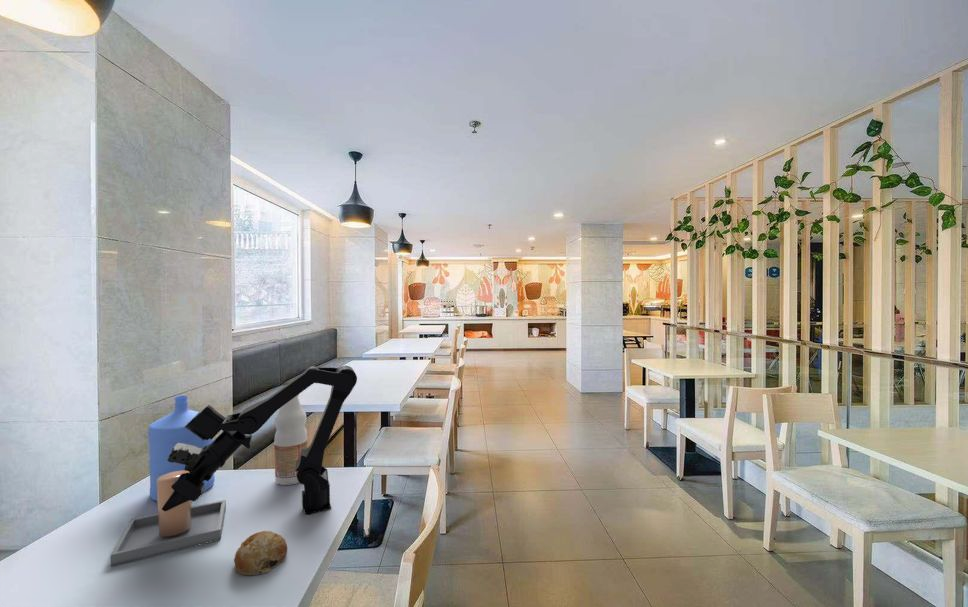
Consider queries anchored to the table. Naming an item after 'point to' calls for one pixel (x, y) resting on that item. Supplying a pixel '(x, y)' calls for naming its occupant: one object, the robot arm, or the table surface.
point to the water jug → (172, 443)
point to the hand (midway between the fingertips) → (167, 503)
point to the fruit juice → (289, 441)
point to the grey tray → (147, 542)
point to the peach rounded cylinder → (177, 516)
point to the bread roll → (260, 553)
